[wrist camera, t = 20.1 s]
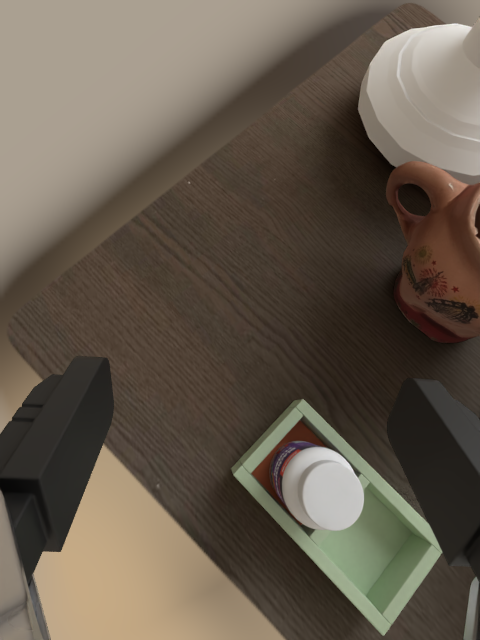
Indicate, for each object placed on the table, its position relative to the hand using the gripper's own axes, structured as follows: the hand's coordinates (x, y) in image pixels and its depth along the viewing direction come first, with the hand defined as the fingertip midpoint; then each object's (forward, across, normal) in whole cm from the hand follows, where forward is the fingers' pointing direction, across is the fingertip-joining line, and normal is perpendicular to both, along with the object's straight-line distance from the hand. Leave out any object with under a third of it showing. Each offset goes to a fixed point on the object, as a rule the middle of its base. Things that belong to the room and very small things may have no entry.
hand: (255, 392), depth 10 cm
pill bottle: (+13, -7, +21) cm, 25 cm away
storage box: (+12, -10, +22) cm, 27 cm away
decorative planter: (+27, -20, +8) cm, 35 cm away
